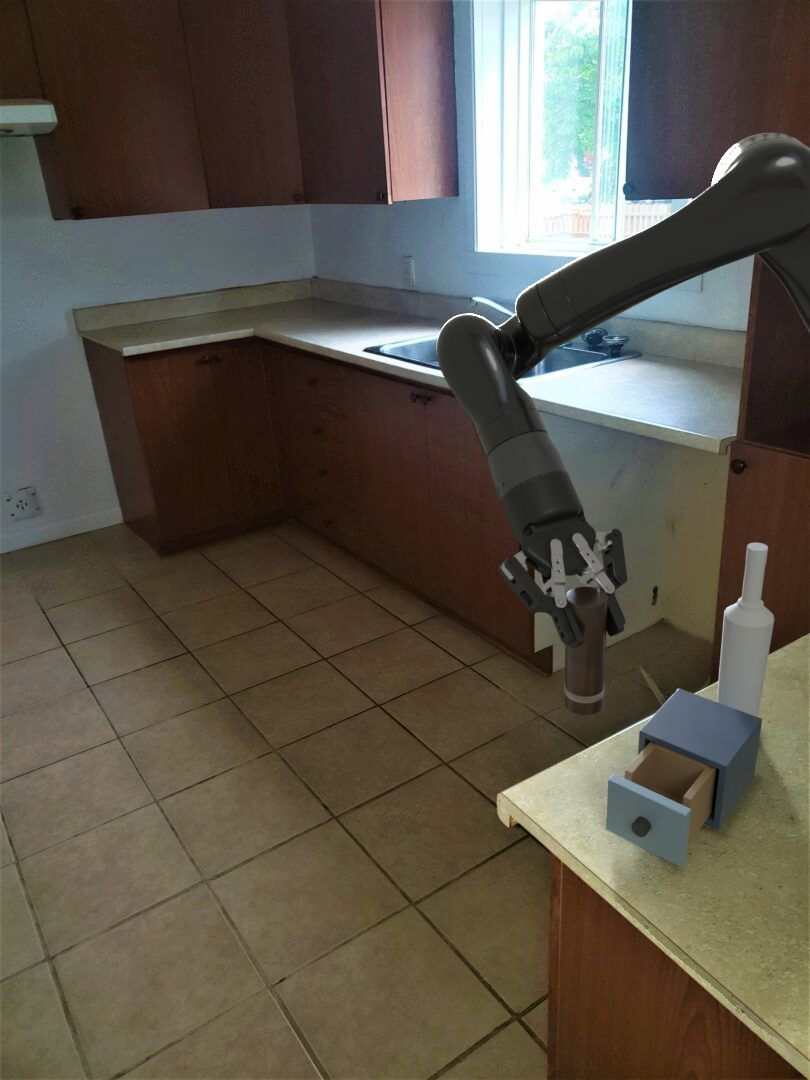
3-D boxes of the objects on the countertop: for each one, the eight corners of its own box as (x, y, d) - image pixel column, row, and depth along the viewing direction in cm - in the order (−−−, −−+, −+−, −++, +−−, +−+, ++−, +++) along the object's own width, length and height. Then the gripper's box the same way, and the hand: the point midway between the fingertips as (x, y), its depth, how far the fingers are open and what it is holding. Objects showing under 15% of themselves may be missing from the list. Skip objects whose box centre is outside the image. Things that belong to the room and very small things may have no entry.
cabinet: (719, 830, 84) (726, 767, 81) (635, 791, 90) (639, 730, 87) (753, 779, 91) (762, 718, 87) (673, 746, 96) (678, 687, 93)
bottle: (708, 741, 97) (729, 554, 86) (714, 716, 101) (734, 533, 90) (755, 752, 95) (782, 560, 84) (759, 725, 99) (785, 539, 88)
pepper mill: (589, 687, 88) (592, 582, 82) (611, 708, 84) (616, 600, 79) (556, 698, 87) (557, 592, 81) (578, 720, 83) (580, 611, 78)
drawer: (675, 875, 79) (680, 823, 76) (599, 836, 84) (601, 786, 81) (716, 817, 85) (722, 767, 82) (644, 784, 90) (647, 735, 87)
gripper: (483, 484, 79) (549, 650, 74) (606, 455, 84) (676, 610, 79) (461, 515, 86) (521, 668, 81) (576, 487, 91) (639, 631, 86)
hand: (597, 638), depth 80 cm, fingers closed on pepper mill, 4 cm apart
